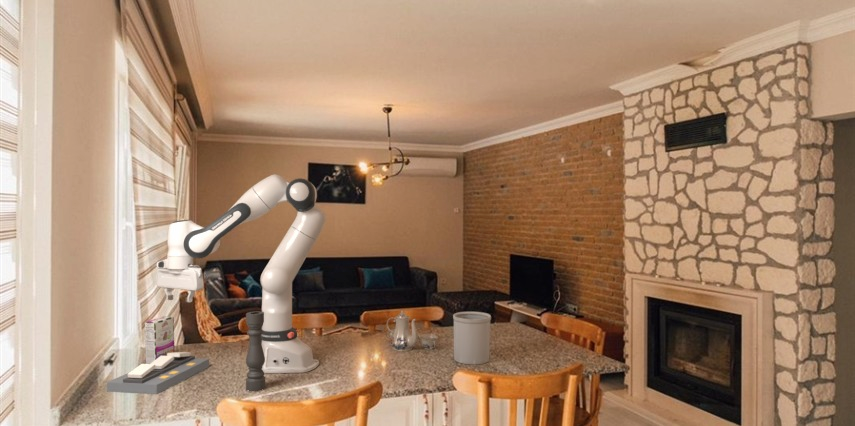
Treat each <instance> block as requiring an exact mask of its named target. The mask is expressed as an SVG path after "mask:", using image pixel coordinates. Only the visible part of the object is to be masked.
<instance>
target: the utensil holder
mask: <svg viewBox="0 0 855 426" xmlns="http://www.w3.org/2000/svg"><path fill="white" fill-rule="evenodd" d="M452 318H453V356H454V357H453V359H454V361H455V362H457V363H459V364H463V365H483V364H486V363H488V362H489V361H490V347H491V346H490V344H491V343H490V342H491V320H492V316H491V314H489V313H487V312H482V311H459V312H456V313H454V314H452Z"/></svg>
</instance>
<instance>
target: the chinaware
mask: <svg viewBox="0 0 855 426" xmlns="http://www.w3.org/2000/svg"><path fill="white" fill-rule="evenodd" d="M410 317H411V316H409V315H407V314H406V313H405V312H404V310H401V311H400V313H399V314H397V315H395V316H394V317H390V318H388V319H387V321H386V323H385V325H386V328H387V332H386V333H385V336H386V339H388V340H389V339H390V340H389V345H390V346H391V348H392V350H393V351H396V352H409V351H411V350H413V347H414V346H415V345H416V344H417V343H418V340H419V341H420V345H421V346H422V347H424V350H433V349H434V348H435V347H436V344H437V341H438V338H439V337H440V336H438V335H436V334H434V333H431V334H429V335H428V334H426V333H422V334H421V335H419V334H418V330H417V327H416V323H415V322H416V320H417V318H413V319H412V320H411V325H410ZM390 320H393V323H395V328H394V329H390V327H389V322H390ZM410 326H411V329H410ZM388 336H389V337H388Z"/></svg>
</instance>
